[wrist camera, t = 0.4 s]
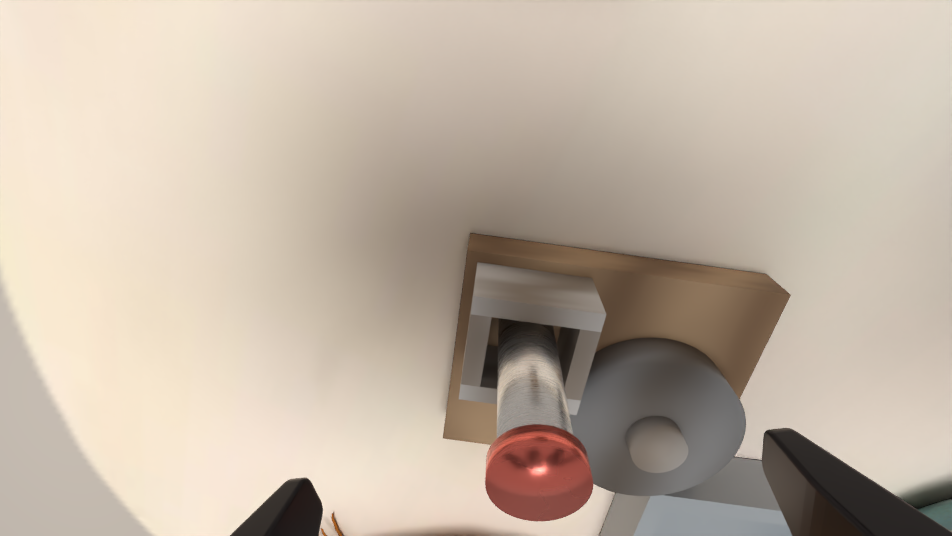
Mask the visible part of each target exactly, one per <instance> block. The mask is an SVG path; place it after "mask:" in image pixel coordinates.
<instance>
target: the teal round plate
mask: <svg viewBox="0 0 952 536" xmlns="http://www.w3.org/2000/svg"><path fill="white" fill-rule="evenodd" d="M917 510H919V511H920V512H922V513H923V514H925V515H927V516H928V517H930V518H931V519H933V520H934V521H936V522H937V523H939V524H940V525H942V526H944V527H945V528H947V529H948V530H950V531H951V532H952V499H948V500H944V501H941V502H938V503H935V504H932V505H929V506H926V507H922V508H920V509H917Z"/></svg>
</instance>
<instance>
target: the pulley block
mask: <svg viewBox="0 0 952 536" xmlns="http://www.w3.org/2000/svg"><path fill="white" fill-rule="evenodd" d="M790 296H791V295H790V294H789V293H788V292H787V291H786V290H784V289H783V288H782V287H781V286H780V285H778V284H777V283H776V282H775V281H774V280H773V279H771V278H770V277H769V276H768V275H767V274H761V273H754V272H746V271H739V270H732V269H725V268H718V267H710V266H703V265H696V264H689V263H682V262H674V261H667V260H660V259H653V258H646V257H638V256H631V255H624V254H617V253H610V252H602V251H595V250H588V249H581V248H574V247H566V246H559V245H552V244H545V243H538V242H530V241H523V240H516V239H509V238H502V237H494V236H487V235H480V234H473V233H470V238H469V244H468V249H467V257H466V265H465V272H464V280H463V288H462V295H461V303H460V311H459V318H458V326H457V334H456V341H455V349H454V357H453V364H452V372H451V380H450V387H449V395H448V403H447V410H446V418H445V426H444V433H443V438H445V439H452V440H460V441H467V442H474V443H482V444H489V445H492V443H493V442H494V441H495V440H496V439H497V383H498V318H502V319H509V320H516V321H523V322H531V323H538V324H545V325H553V328H554V333H555V339H556V344H557V349H558V355H559V360H560V366H561V371H562V376H563V382H564V387H565V393H566V398H567V403H568V409H569V414H570V420H571V425H572V430H573V435H574V436H575V437H577V438H578V439H579V440H580V441H581V443H582V444H583V445H584V447H585V449H586V451H587V455H588V459H589V464H590V469H591V473H592V478H593V484H595V485H597V486H599V487H601V488H604V489H606V490H609V491H612V492H616V493H619V494H625V495H632V496H658V495H665V494H671V493H675V492H679V491H683V490H686V489H688V488H691V487H694V486H696V485H698V484H700V483H702V482H704V481H706V480H707V479H709V478H711V477H712V476H714V475H715V474H716V473H718V472H719V471H720V470H722V469H723V468H724V467H725V466H726V465H727V464H728V463H729V462H730V461H731V459H732V458H733V457H734V456H735V454H736V453H737V451H738V449H739V448H740V445H741V443H742V441H743V438H744V434H745V427H746V419H745V412H744V409H743V406H742V404H741V402H740V400H739V399H740V397H741V395H742V393H743V391H744V389H745V387H746V385H747V383H748V381H749V379H750V377H751V375H752V373H753V371H754V368H755V366H756V364H757V362H758V360H759V358H760V356H761V354H762V352H763V350H764V348H765V346H766V344H767V342H768V340H769V338H770V336H771V334H772V332H773V330H774V328H775V326H776V324H777V322H778V320H779V318H780V316H781V314H782V312H783V310H784V308H785V306H786V304H787V302H788V300H789V298H790Z"/></svg>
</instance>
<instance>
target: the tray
mask: <svg viewBox="0 0 952 536" xmlns="http://www.w3.org/2000/svg"><path fill="white" fill-rule="evenodd" d="M599 536H792V534H791V532H790V529H789V527H788V525H787V523H786V521H785V518H784V516H783V514H782V512H781V509H780V507H779V505H778V503H777V501H776V498H775V496H774V494H773V492H772V490H771V487H770V485H769V483H768V481H767V478H766V476H765V474H764V471H763V467H762V461H760V460H753V459H745V458H738V457H733V458H732V459H731V461H730V462H729V463H728V464H727V465H726V466H725V467H724V468H723V469H722V470H720V471H719V472H718V473H716V474H715V475H714V476H712V477H711V478H709V479H707V480H706V481H704V482H702V483H700V484H698V485H696V486H694V487H691V488H688V489H686V490H683V491H679V492H675V493H671V494H665V495H658V496H632V495H625V494H619V493H615V496H614V499H613V501H612V504H611V506H610V509H609V512H608V514H607V517H606V519H605V522H604V525H603V527H602V530H601V532H600V535H599Z"/></svg>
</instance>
